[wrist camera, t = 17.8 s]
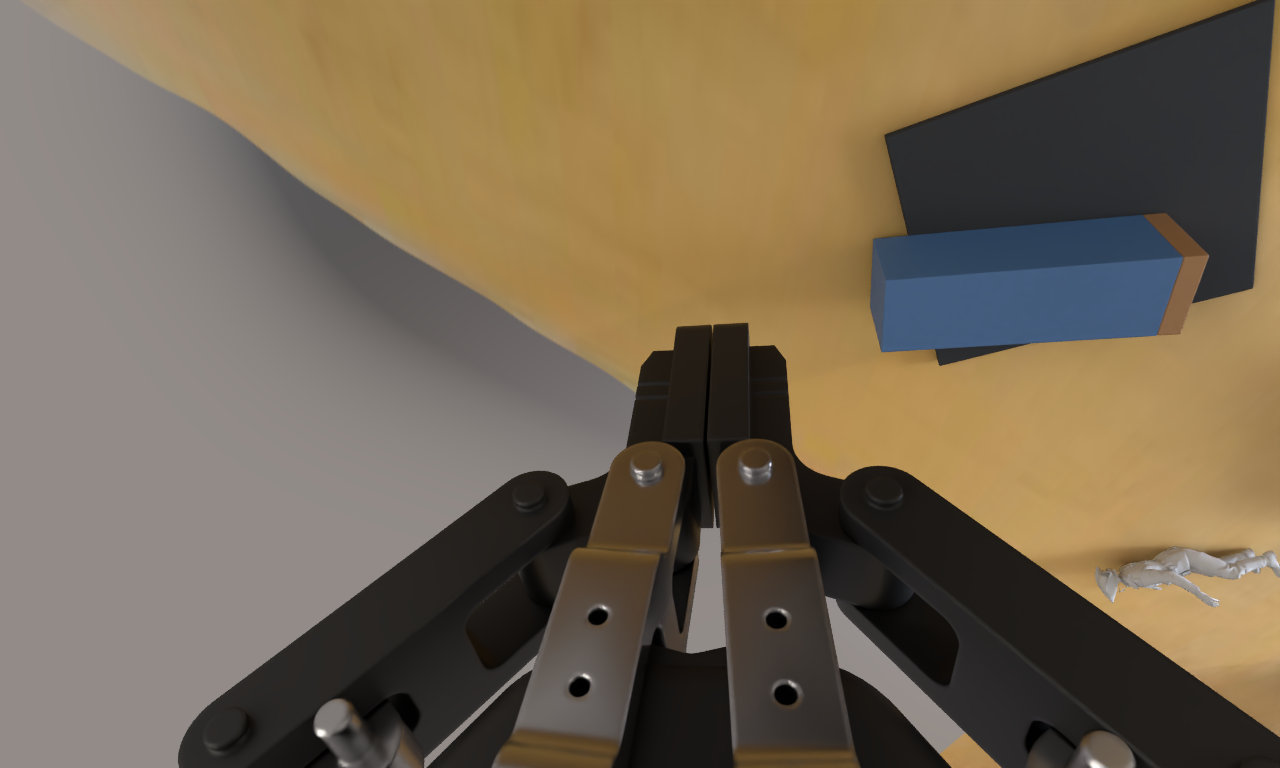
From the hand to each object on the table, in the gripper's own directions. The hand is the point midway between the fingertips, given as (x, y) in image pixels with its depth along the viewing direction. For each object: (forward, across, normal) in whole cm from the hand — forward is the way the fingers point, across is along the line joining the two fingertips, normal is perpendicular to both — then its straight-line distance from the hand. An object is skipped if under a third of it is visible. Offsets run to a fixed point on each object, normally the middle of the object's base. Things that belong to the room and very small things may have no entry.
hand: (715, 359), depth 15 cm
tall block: (+26, -8, +15) cm, 31 cm away
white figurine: (+29, -33, +44) cm, 62 cm away
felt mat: (+29, -19, +12) cm, 37 cm away
